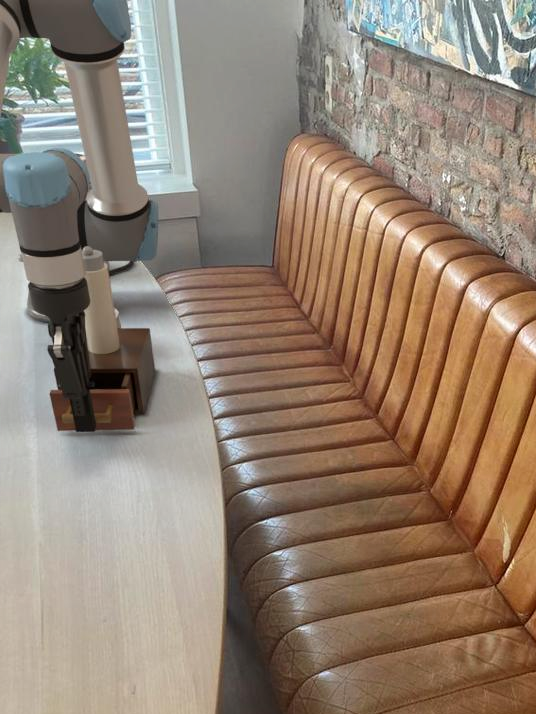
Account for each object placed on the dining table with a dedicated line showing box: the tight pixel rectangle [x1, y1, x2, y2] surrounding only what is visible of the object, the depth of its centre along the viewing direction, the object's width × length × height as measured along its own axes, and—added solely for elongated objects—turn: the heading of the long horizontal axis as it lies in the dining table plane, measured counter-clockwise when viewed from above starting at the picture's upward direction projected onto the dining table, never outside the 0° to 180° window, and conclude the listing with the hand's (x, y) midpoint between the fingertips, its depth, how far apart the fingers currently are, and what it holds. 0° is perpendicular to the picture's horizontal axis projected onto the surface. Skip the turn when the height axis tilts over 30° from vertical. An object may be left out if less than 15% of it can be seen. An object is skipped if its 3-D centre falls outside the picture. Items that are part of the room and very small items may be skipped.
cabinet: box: [53, 327, 156, 416], centre depth 133 cm, size 16×13×9 cm
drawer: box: [49, 373, 137, 432], centre depth 125 cm, size 19×12×7 cm, turn 5°
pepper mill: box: [82, 246, 120, 354], centre depth 125 cm, size 5×5×17 cm
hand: (86, 429), depth 117 cm, fingers closed
